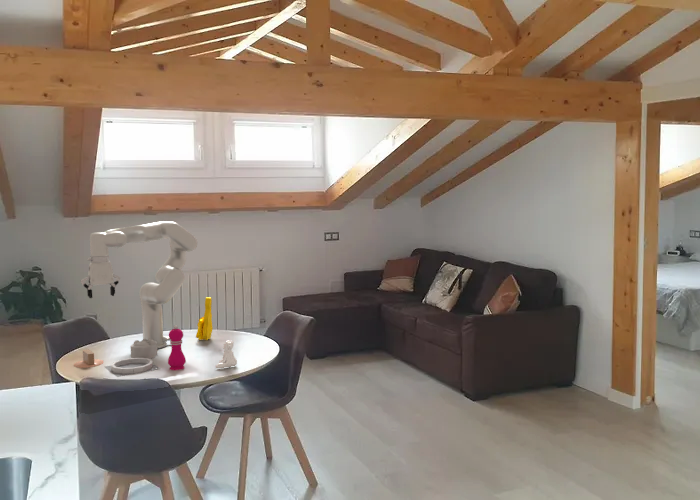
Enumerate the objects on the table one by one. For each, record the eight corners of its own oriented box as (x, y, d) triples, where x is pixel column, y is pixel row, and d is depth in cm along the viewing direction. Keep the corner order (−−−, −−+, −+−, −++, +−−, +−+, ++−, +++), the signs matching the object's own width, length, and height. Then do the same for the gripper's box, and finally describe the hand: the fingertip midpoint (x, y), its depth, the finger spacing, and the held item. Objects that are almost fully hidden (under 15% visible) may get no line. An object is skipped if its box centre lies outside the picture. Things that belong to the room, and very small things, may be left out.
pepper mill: (170, 369, 269) (168, 323, 267) (187, 368, 269) (185, 323, 267) (166, 374, 262) (165, 327, 260) (184, 373, 262) (182, 327, 260)
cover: (107, 368, 271) (106, 352, 271) (78, 373, 264) (77, 357, 263) (99, 362, 281) (98, 346, 280) (70, 366, 273) (70, 351, 273)
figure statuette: (202, 335, 329) (201, 294, 327) (217, 335, 329) (216, 294, 327) (192, 343, 312) (191, 300, 309) (207, 344, 311) (206, 300, 309)
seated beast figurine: (220, 363, 277) (219, 337, 276) (239, 363, 277) (238, 337, 276) (214, 370, 268) (214, 342, 266) (234, 370, 267) (234, 342, 266)
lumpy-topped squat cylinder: (128, 362, 279) (127, 343, 278) (140, 354, 292) (139, 336, 291) (150, 363, 278) (150, 344, 277) (161, 355, 291) (161, 337, 290)
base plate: (145, 362, 278) (145, 355, 278) (160, 372, 264) (160, 364, 264) (104, 370, 268) (104, 362, 267) (117, 380, 253) (117, 371, 253)
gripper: (82, 261, 275) (83, 300, 277) (121, 258, 285) (123, 295, 287) (77, 260, 281) (79, 297, 283) (116, 257, 291) (118, 293, 293)
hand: (101, 296), depth 285 cm, fingers open, 9 cm apart
